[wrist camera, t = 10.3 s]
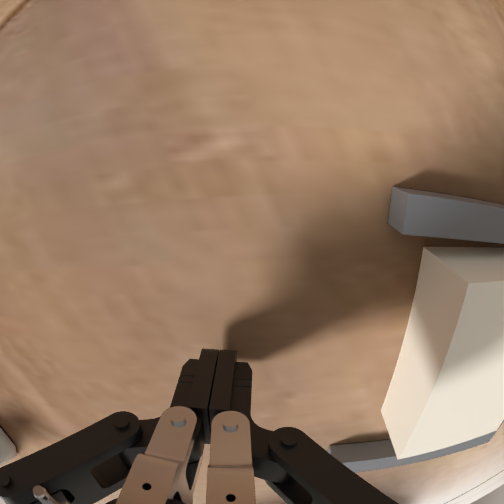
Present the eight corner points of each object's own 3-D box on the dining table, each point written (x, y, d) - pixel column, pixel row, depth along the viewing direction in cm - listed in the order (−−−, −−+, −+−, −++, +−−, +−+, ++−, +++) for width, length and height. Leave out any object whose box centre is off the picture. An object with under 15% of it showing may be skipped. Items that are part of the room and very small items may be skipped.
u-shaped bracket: (392, 186, 11) (408, 193, 10) (570, 220, 11) (586, 227, 10) (324, 457, 17) (327, 475, 16) (481, 429, 17) (488, 441, 16)
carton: (420, 244, 12) (468, 283, 9) (521, 245, 12) (568, 274, 8) (379, 407, 16) (397, 459, 12) (471, 389, 16) (496, 430, 12)
